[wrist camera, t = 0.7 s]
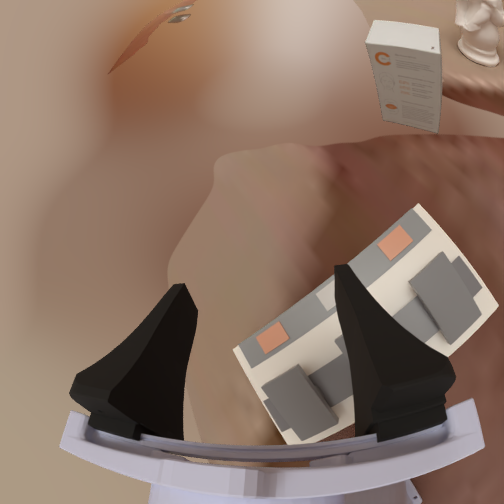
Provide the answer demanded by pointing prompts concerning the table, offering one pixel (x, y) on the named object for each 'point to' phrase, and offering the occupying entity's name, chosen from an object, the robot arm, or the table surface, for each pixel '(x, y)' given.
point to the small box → (407, 72)
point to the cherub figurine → (480, 29)
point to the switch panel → (328, 327)
